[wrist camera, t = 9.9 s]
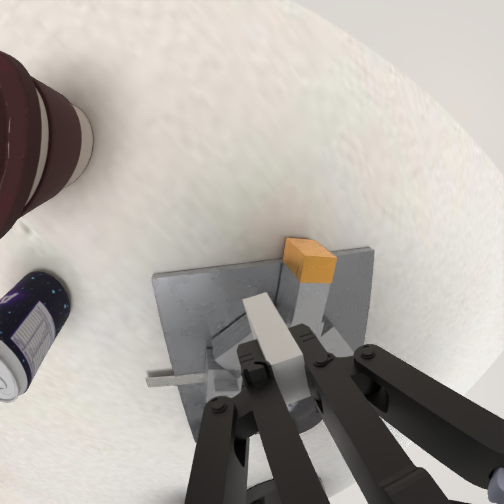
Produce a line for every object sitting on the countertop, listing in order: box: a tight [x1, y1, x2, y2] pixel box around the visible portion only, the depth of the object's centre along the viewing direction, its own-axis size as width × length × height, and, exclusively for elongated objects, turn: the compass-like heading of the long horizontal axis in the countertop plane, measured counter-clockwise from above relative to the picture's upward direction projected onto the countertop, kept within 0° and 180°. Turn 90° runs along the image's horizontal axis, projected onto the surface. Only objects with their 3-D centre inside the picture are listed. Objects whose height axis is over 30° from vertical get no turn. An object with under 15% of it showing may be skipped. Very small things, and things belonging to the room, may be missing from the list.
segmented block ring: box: [204, 238, 354, 433], centre depth 26 cm, size 14×20×5 cm
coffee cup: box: [0, 51, 93, 239], centre depth 13 cm, size 10×10×15 cm
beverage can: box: [0, 272, 70, 403], centre depth 18 cm, size 6×6×12 cm
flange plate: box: [145, 247, 374, 442], centre depth 26 cm, size 24×23×8 cm
